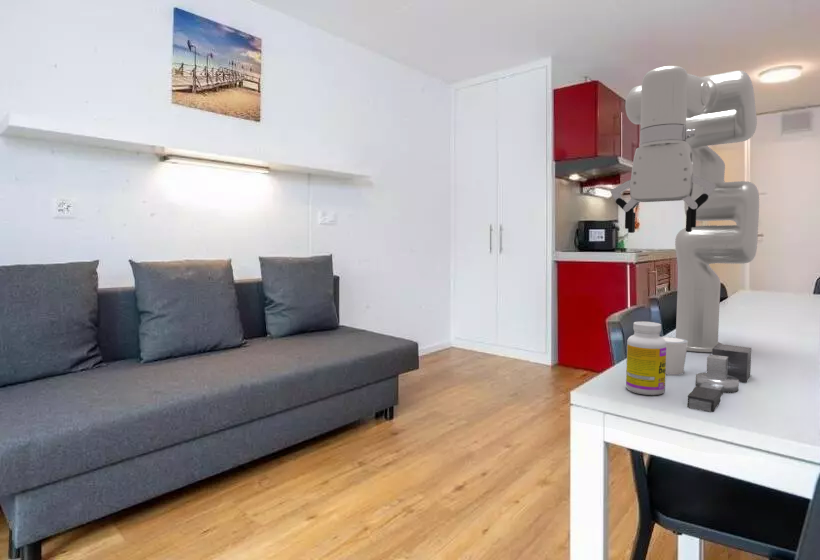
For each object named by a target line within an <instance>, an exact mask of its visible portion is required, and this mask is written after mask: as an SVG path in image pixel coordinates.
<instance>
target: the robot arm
mask: <svg viewBox="0 0 820 560" xmlns="http://www.w3.org/2000/svg"><path fill="white" fill-rule="evenodd" d="M624 109H625V114H626V117H627V118H628V120H629V121H630V122H631V123H632V124H634V125H640V129H639V130H640V131H639V146H638V147H637V148H636V149H635V152H634V156H633V161H632V167H631V174H630V175H631V177H630V179H629V180H626V181H625V182H623V183H621V184H619V185H618V186H616V187H614V188H613V189H611V190H610V193H611V196H612V198H613V200H615V204H616V205H617V206H618V207H620V208H621V209H622V210H623V212H624V213H625V215H624V229H625V230H627V233H628V234H629V233H630V234H634V233H635V232H636V212H635V208H636V207H637V206H638V205H639V204H640V203H653V202H654V203H659V202H677V201H683V202H684V214H685V227H684V228H682V229H681V230H679V231H678V232H677V234H676V236H675V238H674V239H675V242H674V243H675V244H674V245H675V246H674V247H675V253H676V254H675V255H676V263H677V293H676V294H677V296H676V320H675V321H676V322H675V323H676V324H675V325H676V326H675V338H681V339H685V340H687V341H688V344H687V351H686V352H688V351H689V352H696V353H697V352H698V353H712V349H713V348H714V347H715V346H716V345H717V344H723V343H722V342H719V327H720V324H719V323H720V305H721V304H720V302H721V301H720V300H721V286H722V285H721V280H720V277H719V276H718V274H717V272H716V271H714V269H713V268H712V267H711V266H710V264H712V265H713V264H714V265H715V264H724V265H725V264H727V265H728V264H731V265H732V264H733V265H734V264H735V265H738V264H739V265H740V264H741V265H742V264H743V265H744V264H748V263H751V262H752V261H753V260H754V259H755V257H756V254H757V249H758V233H759V218H760V217H759V216H760V193H759V189H758V186H756V185H755V184H754V183H753V182H750V181H745V180H742V181H728V182H727V181H725V171H726V164H725V161H724V160H723V158H722V157H721V156H720V155H719V153H717V152H716V151H715V150H713V149H712V148H710V147H709V146H717V145H724V144H725V145H726V144H727V145H728V144H733V143H742V142H745V141H748V140H750V139H751V138H752V137H753V136H754V135H755V133H756V130H757V124H758V123H757V122H758V119H757V109H756V100H755V91H754V85H753V82H752V80H751V77H750V76H749V74H748V73H747V72H746V71H744V70H742V69H741V70H739V69H738V70H732V71H726V72H722V73H717V74H711V75H710V74H709V75H706V76H698V75H695V74H691V73H688V70H686V68H684V67H682V66H679V65H667V66H661V67H656V68H654V69H652V70H649V71H647V72H646V74H644V76H643V78H642V80H641V85H637V86H634V87H633V88H631V89H630V91H629V92H628V94H627V95H626V98H625V107H624ZM627 190H629V195H630V199H629V200H628V202H627V201H625V199H624V198H623V196H622V193H624V192H625V191H627ZM715 221H716V222H718V221H719V222H720V221H722V222H723V221H733V222H735V223H736V224H734V225H733V224H728V225H726V224H725V225H716V224H715V225H713V224H712V225H697V222H715ZM723 345H725V344H723Z"/></svg>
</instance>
